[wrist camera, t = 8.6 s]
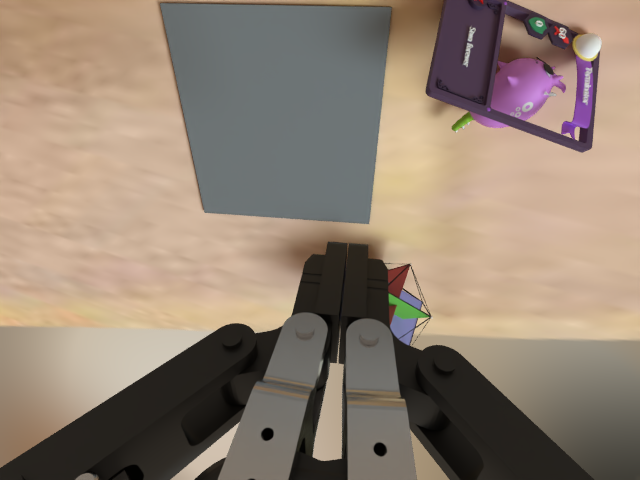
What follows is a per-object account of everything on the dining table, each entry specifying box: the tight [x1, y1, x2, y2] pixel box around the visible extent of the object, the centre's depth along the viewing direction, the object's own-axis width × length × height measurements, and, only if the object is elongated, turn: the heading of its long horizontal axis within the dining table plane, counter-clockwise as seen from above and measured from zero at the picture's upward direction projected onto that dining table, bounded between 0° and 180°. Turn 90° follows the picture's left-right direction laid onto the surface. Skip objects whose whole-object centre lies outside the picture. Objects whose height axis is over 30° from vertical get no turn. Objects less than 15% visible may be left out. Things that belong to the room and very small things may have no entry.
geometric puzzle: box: [339, 263, 433, 346], centre depth 28 cm, size 7×7×8 cm
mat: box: [160, 3, 392, 224], centre depth 24 cm, size 13×14×1 cm
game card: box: [426, 0, 602, 152], centre depth 20 cm, size 7×5×9 cm
